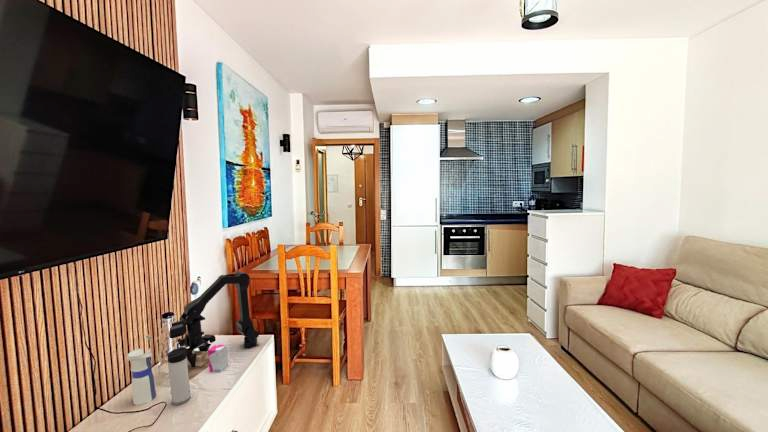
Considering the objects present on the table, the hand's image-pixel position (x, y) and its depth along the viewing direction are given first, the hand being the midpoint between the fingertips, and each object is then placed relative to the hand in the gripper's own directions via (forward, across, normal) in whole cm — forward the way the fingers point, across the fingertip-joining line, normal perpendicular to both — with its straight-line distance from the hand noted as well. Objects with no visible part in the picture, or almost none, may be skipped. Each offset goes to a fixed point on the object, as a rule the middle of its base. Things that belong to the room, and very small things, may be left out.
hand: (198, 364), depth 160 cm
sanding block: (0, 0, 0) cm, 0 cm away
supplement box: (+2, +2, +13) cm, 13 cm away
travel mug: (+2, +22, +13) cm, 26 cm away
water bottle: (+2, +24, -3) cm, 25 cm away
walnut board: (+2, +1, 0) cm, 2 cm away
